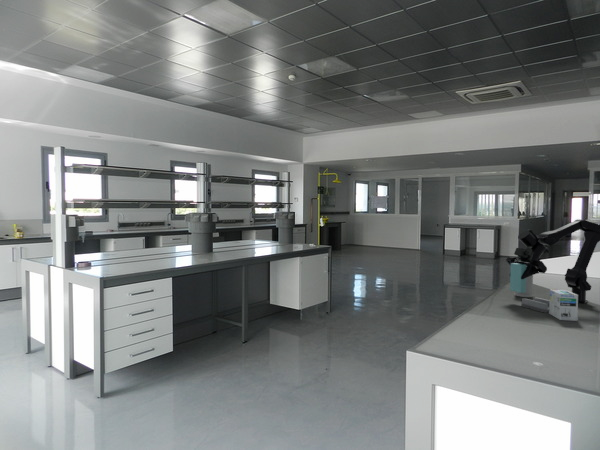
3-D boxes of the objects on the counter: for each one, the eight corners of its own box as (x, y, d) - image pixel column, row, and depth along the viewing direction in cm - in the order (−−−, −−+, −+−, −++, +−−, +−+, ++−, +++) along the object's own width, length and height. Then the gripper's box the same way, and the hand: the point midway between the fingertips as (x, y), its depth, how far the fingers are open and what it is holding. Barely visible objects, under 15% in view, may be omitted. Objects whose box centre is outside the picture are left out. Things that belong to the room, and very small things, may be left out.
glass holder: (515, 296, 203) (516, 267, 203) (511, 291, 216) (512, 264, 216) (534, 297, 200) (535, 268, 199) (530, 292, 213) (530, 264, 212)
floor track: (521, 306, 181) (521, 298, 181) (536, 305, 184) (536, 297, 184) (545, 312, 170) (545, 304, 170) (560, 311, 172) (560, 302, 172)
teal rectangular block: (510, 290, 189) (510, 263, 188) (514, 289, 190) (515, 263, 189) (520, 292, 183) (521, 264, 183) (525, 292, 184) (526, 264, 184)
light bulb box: (578, 321, 157) (579, 294, 156) (559, 320, 158) (560, 293, 158) (565, 314, 167) (566, 289, 167) (548, 313, 168) (549, 288, 168)
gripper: (509, 240, 196) (491, 263, 193) (542, 243, 178) (523, 268, 175) (521, 255, 199) (503, 278, 196) (555, 260, 181) (536, 285, 178)
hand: (515, 277), depth 186 cm, fingers closed on teal rectangular block, 6 cm apart
